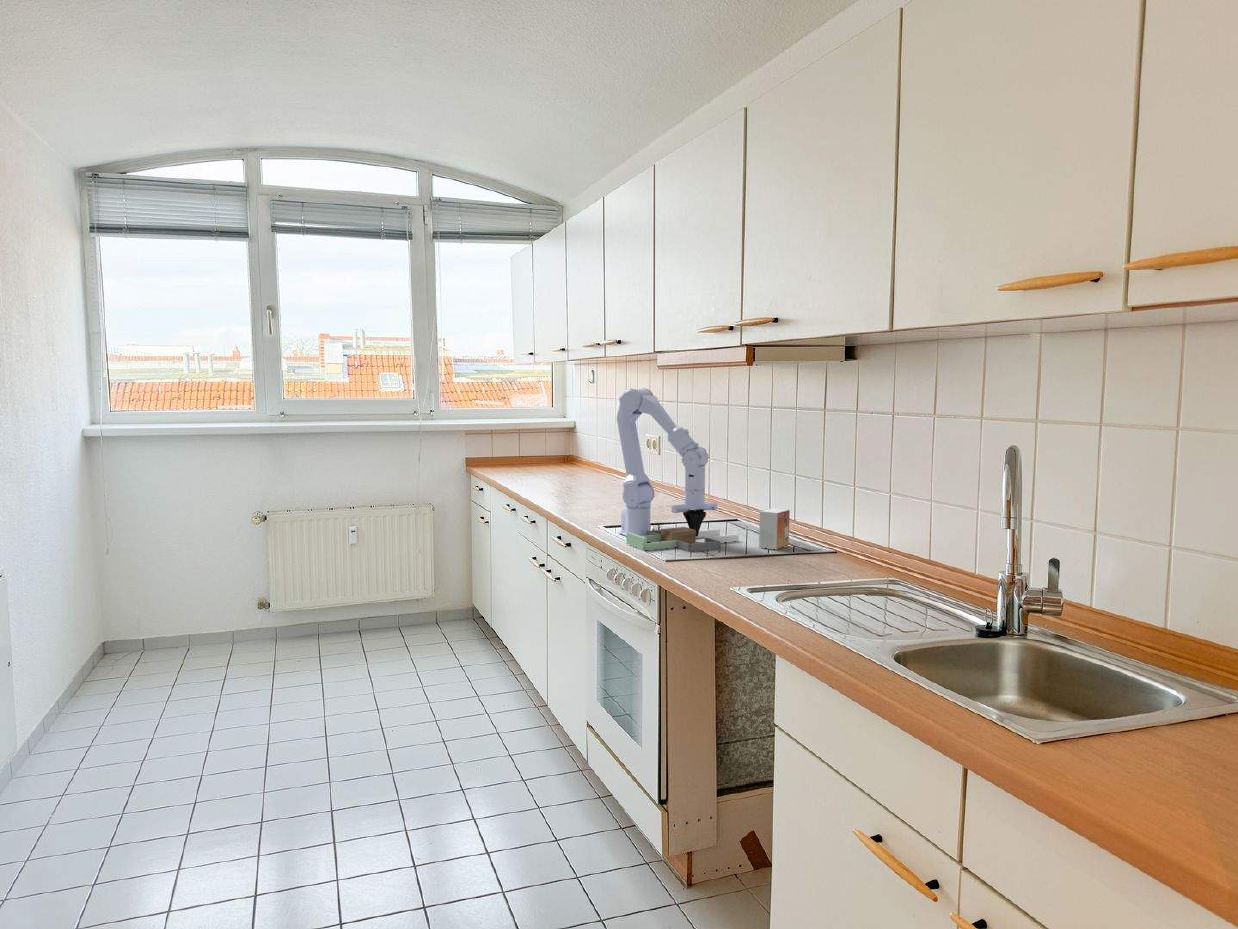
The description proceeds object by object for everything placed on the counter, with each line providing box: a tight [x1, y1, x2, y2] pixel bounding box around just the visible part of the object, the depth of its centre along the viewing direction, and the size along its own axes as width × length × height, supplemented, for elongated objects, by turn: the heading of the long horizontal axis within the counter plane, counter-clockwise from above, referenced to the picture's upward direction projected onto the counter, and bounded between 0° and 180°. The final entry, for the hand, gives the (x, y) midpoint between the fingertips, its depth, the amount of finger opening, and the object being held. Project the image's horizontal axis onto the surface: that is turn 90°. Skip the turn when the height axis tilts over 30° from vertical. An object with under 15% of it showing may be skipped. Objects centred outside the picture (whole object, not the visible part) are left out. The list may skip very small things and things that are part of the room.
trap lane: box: [626, 528, 739, 553], centre depth 243 cm, size 23×32×4 cm
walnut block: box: [660, 526, 697, 544], centre depth 242 cm, size 6×8×4 cm
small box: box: [758, 507, 791, 551], centre depth 237 cm, size 8×6×10 cm
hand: (694, 536), depth 244 cm, fingers closed
